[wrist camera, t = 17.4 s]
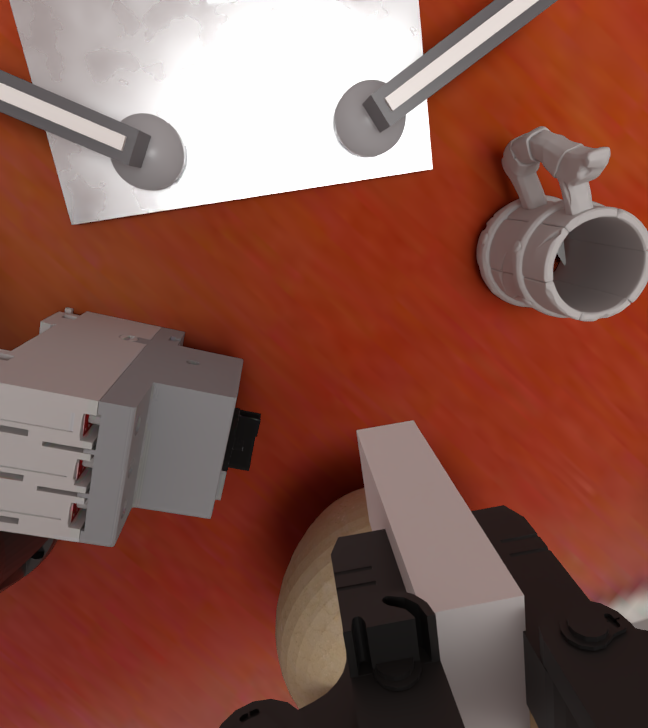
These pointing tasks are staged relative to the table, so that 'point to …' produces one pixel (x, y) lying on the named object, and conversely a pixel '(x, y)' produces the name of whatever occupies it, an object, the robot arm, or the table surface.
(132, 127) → the grey bar piece
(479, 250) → the mug
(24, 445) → the circuit breaker
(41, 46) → the base plate
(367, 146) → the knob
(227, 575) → the table surface
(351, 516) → the vase
